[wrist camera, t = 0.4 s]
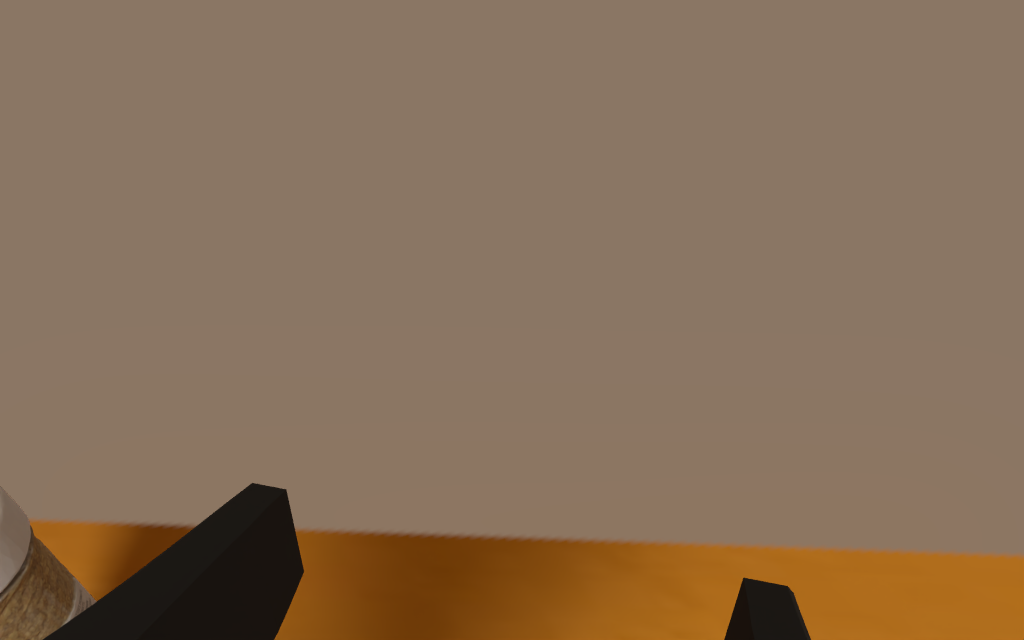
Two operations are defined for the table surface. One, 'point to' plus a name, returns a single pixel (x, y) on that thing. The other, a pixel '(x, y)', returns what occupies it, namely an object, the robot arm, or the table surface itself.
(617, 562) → the table surface
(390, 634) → the table surface
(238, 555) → the robot arm
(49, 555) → the sprinkles bottle
